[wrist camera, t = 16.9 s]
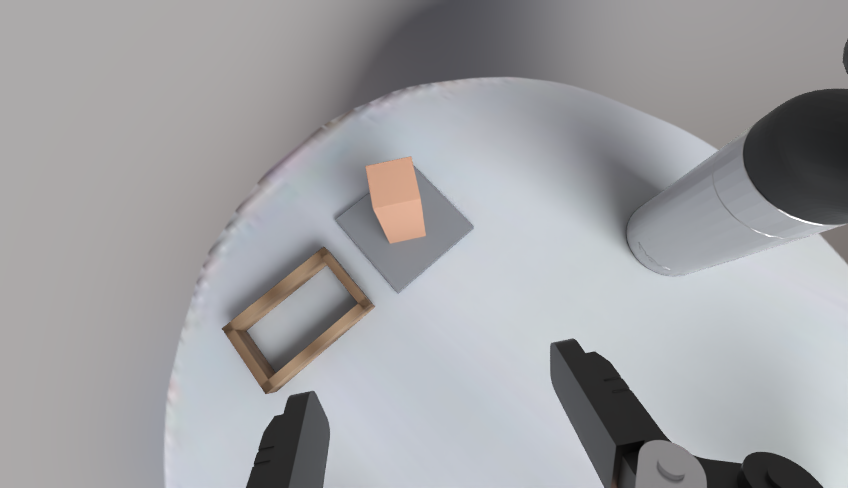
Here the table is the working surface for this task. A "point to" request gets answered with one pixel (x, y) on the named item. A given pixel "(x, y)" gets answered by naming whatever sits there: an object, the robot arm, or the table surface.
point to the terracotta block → (396, 199)
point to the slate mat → (411, 255)
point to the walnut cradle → (274, 297)
